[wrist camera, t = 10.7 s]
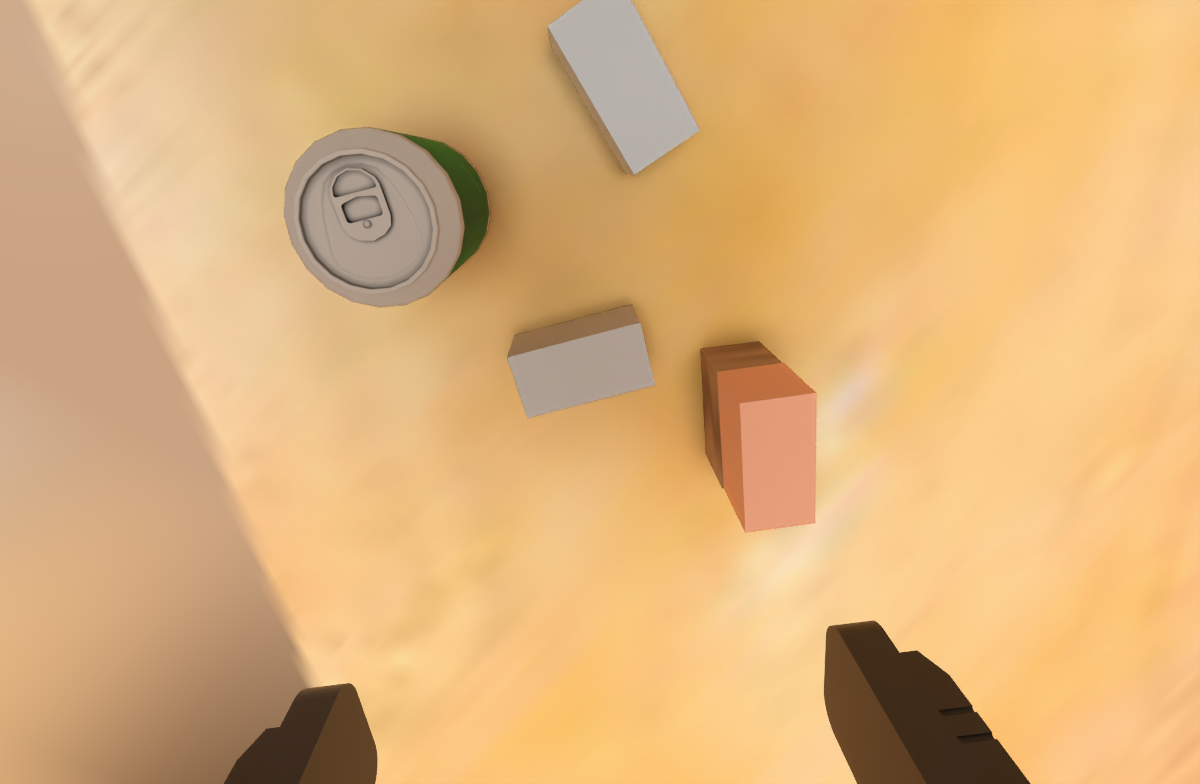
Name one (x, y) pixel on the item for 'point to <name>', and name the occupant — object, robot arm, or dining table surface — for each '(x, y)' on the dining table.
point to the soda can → (384, 214)
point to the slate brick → (580, 361)
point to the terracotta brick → (768, 446)
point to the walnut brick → (710, 365)
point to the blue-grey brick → (622, 80)
